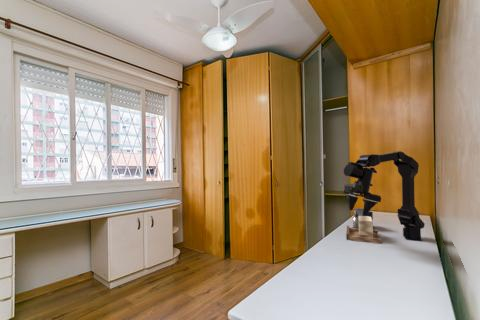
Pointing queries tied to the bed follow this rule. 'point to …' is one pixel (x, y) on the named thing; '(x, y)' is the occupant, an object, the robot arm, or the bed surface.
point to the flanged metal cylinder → (355, 221)
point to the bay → (354, 235)
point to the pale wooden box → (365, 226)
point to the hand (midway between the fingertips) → (357, 212)
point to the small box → (360, 213)
